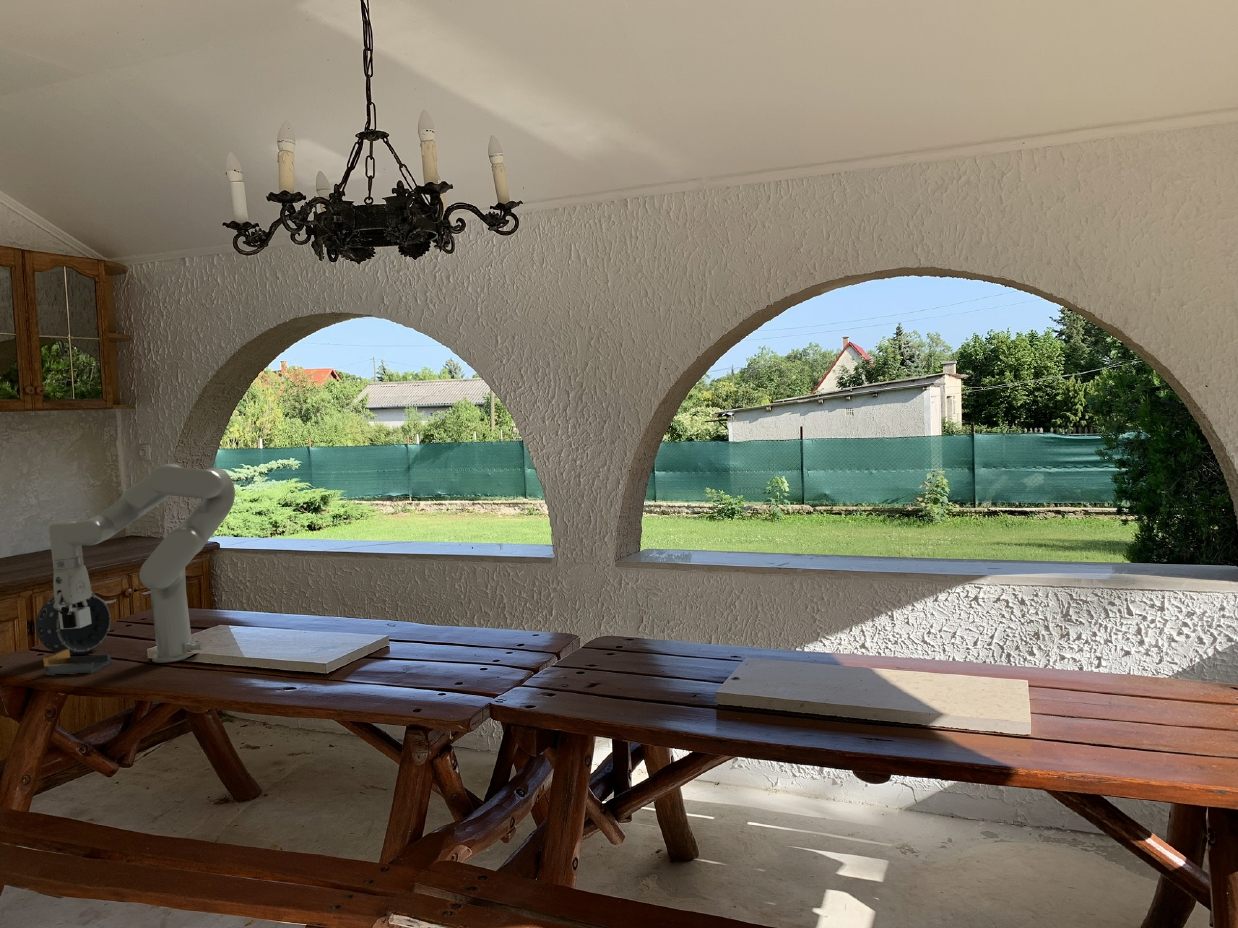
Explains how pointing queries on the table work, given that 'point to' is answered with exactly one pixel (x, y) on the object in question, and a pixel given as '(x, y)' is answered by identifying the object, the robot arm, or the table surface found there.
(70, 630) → the dark grey studded drum
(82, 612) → the grey cube
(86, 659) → the coupler bracket
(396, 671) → the table surface
